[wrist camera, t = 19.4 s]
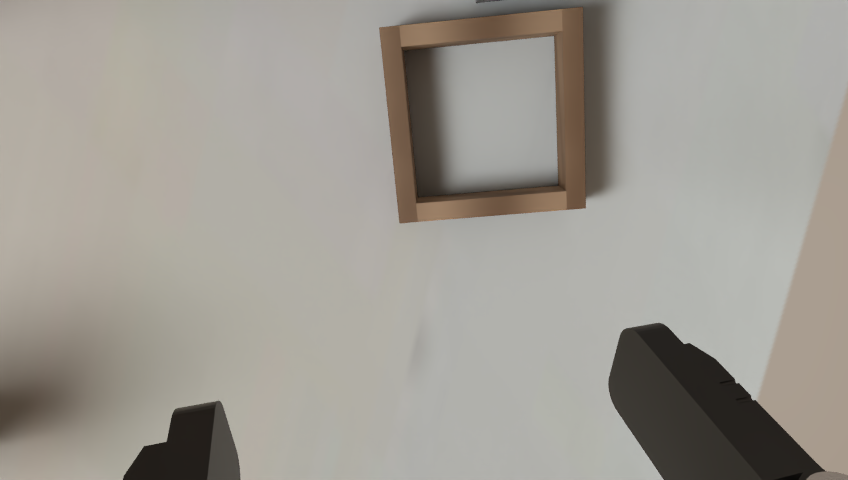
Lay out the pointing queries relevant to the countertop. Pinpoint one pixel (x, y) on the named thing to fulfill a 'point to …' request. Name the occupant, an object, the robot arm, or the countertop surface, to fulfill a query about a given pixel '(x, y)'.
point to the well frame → (568, 112)
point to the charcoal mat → (485, 1)
